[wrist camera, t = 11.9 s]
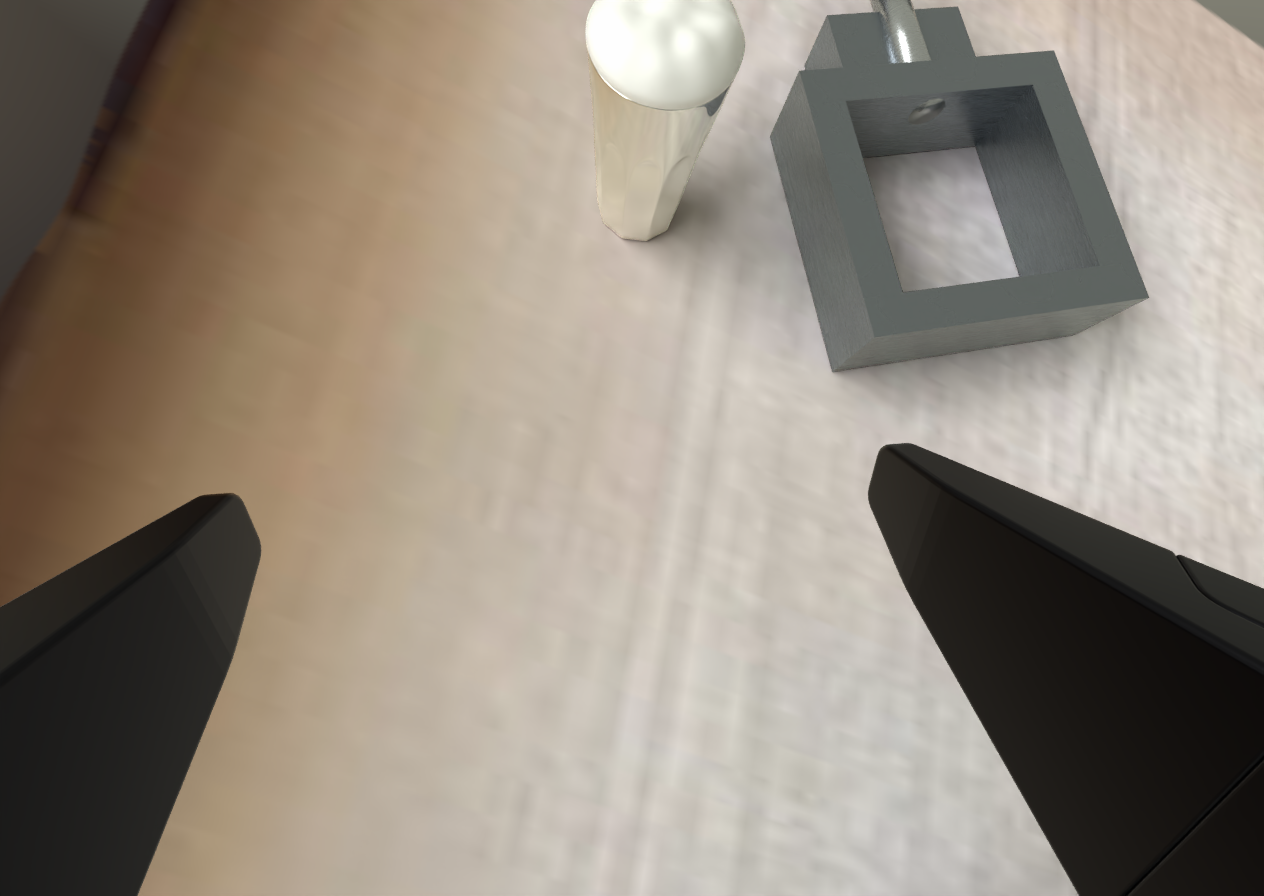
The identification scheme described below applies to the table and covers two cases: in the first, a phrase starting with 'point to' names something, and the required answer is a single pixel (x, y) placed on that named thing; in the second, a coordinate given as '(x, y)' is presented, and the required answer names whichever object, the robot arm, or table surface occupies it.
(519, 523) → the table surface
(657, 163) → the milkshake
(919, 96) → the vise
